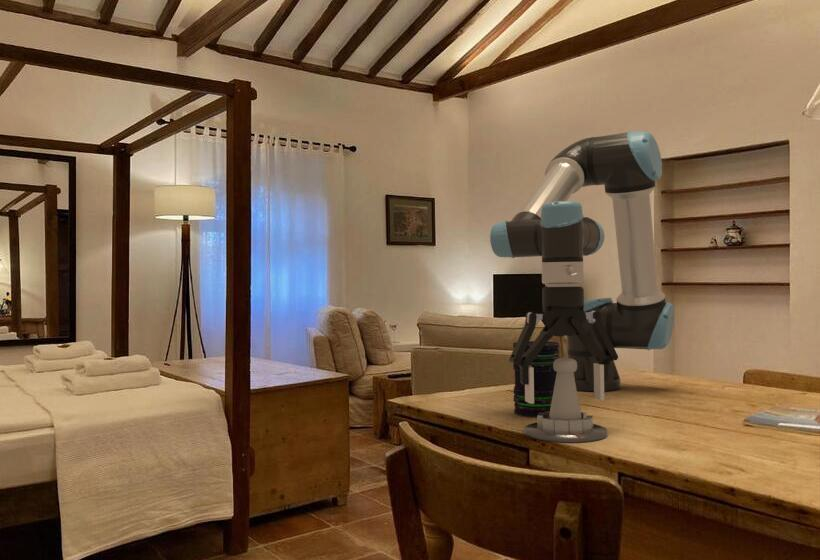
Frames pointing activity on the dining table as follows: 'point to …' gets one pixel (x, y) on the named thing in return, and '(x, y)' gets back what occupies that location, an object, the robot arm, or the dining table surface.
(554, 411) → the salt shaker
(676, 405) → the dining table surface
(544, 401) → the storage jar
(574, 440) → the socket
